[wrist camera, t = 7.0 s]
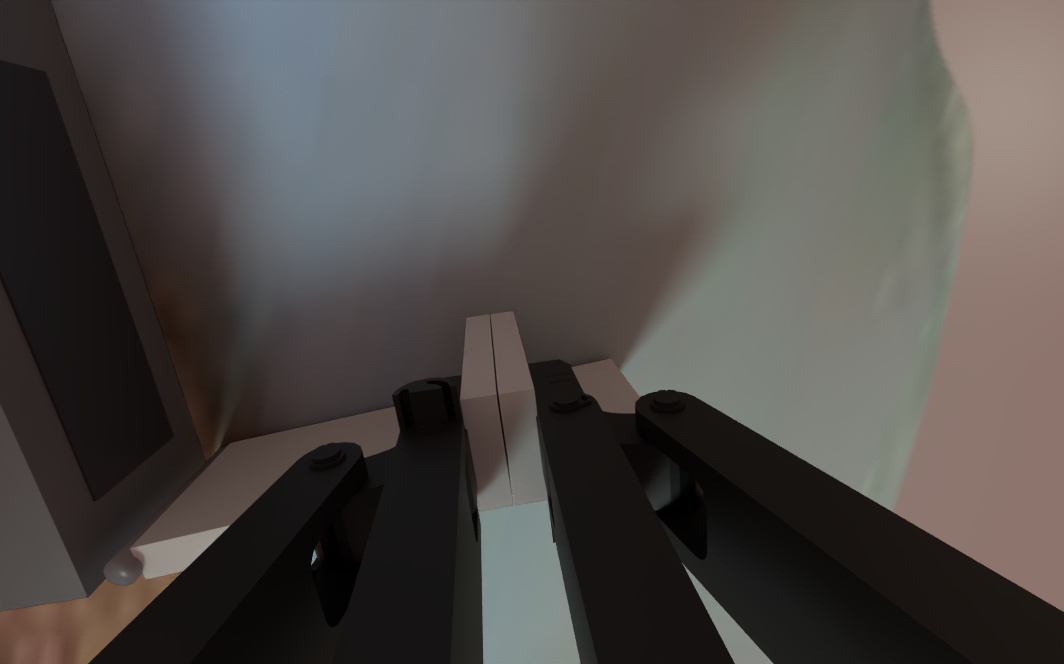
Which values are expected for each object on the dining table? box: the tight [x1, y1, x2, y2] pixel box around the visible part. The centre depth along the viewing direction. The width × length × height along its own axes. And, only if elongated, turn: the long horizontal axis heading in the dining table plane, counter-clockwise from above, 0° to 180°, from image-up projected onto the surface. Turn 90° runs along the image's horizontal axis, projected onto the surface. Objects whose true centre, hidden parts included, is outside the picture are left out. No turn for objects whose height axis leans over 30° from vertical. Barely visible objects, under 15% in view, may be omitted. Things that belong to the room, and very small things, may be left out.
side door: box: [103, 358, 640, 586], centre depth 16 cm, size 15×1×6 cm, turn 101°
